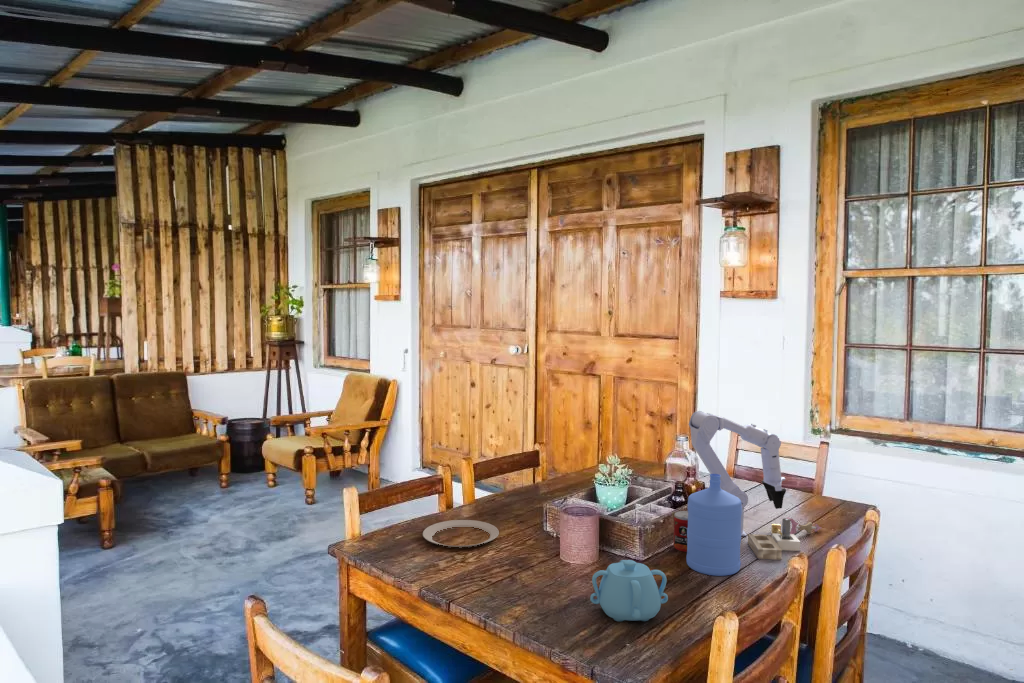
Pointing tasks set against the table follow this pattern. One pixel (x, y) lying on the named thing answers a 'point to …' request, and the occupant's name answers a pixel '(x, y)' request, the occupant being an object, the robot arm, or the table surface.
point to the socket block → (787, 542)
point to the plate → (460, 523)
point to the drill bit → (786, 529)
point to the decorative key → (803, 527)
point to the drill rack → (764, 546)
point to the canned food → (680, 530)
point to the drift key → (776, 529)
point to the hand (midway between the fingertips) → (775, 504)
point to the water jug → (714, 530)
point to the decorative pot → (629, 591)
